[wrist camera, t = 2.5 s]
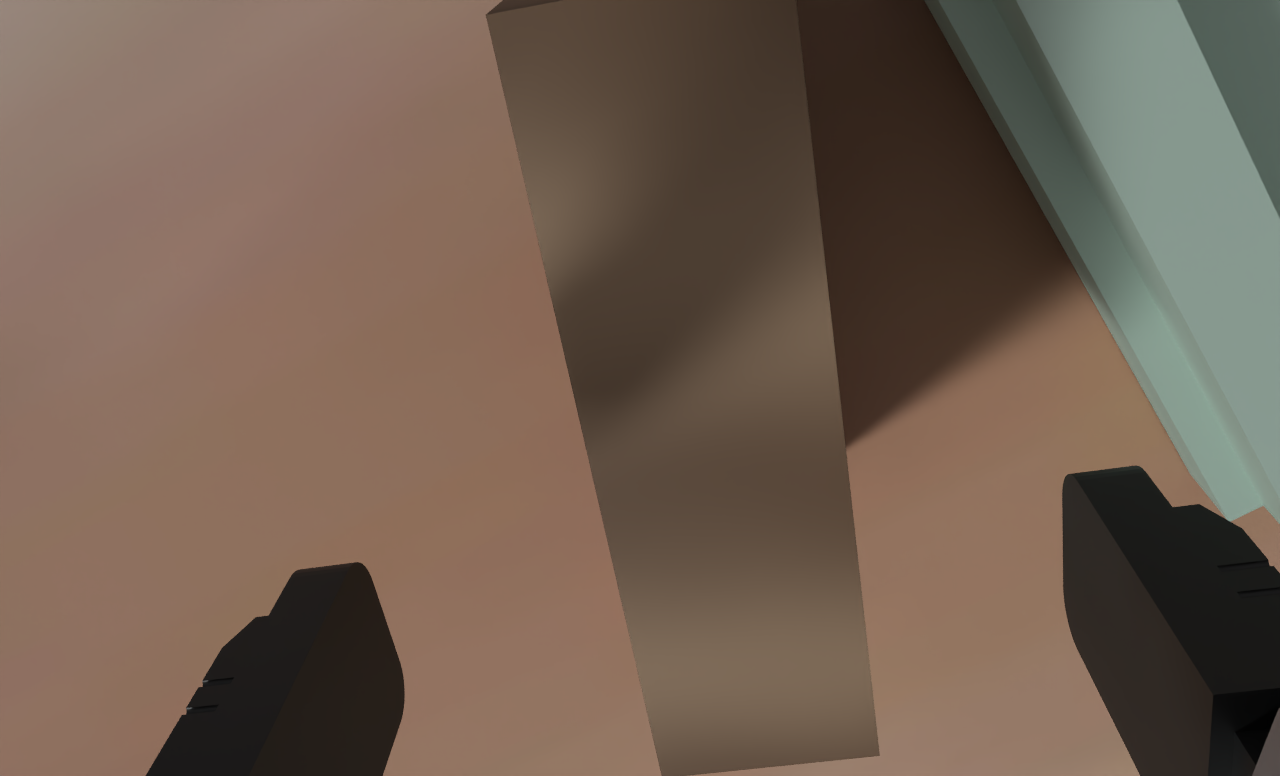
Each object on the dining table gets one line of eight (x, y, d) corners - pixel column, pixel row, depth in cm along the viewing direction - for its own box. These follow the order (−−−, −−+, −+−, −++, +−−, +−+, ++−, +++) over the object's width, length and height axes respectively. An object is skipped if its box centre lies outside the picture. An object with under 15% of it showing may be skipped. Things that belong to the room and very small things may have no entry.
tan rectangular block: (564, -52, 20) (486, 14, 12) (749, -88, 20) (792, -43, 12) (669, 486, 26) (662, 777, 18) (818, 465, 25) (879, 755, 17)
